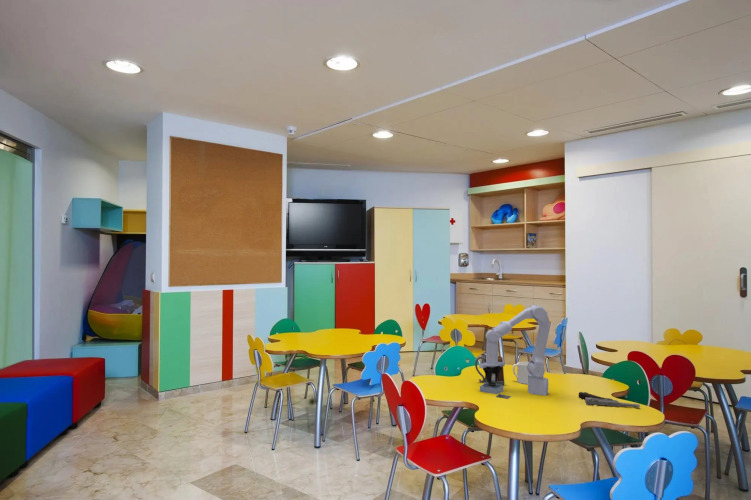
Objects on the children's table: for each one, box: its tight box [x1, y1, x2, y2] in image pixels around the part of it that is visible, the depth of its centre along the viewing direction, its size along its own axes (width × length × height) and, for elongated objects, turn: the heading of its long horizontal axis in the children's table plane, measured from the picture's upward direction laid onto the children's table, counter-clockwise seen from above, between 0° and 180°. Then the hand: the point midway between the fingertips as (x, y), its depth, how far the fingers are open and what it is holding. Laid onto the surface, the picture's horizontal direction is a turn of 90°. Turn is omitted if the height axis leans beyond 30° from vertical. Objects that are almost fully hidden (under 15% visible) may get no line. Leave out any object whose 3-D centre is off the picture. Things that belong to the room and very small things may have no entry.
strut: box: [488, 373, 496, 387], centre depth 229 cm, size 4×4×6 cm
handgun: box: [578, 391, 641, 409], centre depth 216 cm, size 3×24×15 cm
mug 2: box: [512, 361, 530, 386], centre depth 252 cm, size 13×10×10 cm
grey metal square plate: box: [495, 393, 512, 400], centre depth 219 cm, size 6×6×1 cm
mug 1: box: [474, 355, 505, 386], centre depth 245 cm, size 16×11×15 cm
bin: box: [479, 382, 505, 395], centre depth 229 cm, size 9×9×4 cm
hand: (491, 381), depth 230 cm, fingers closed on strut, 3 cm apart
